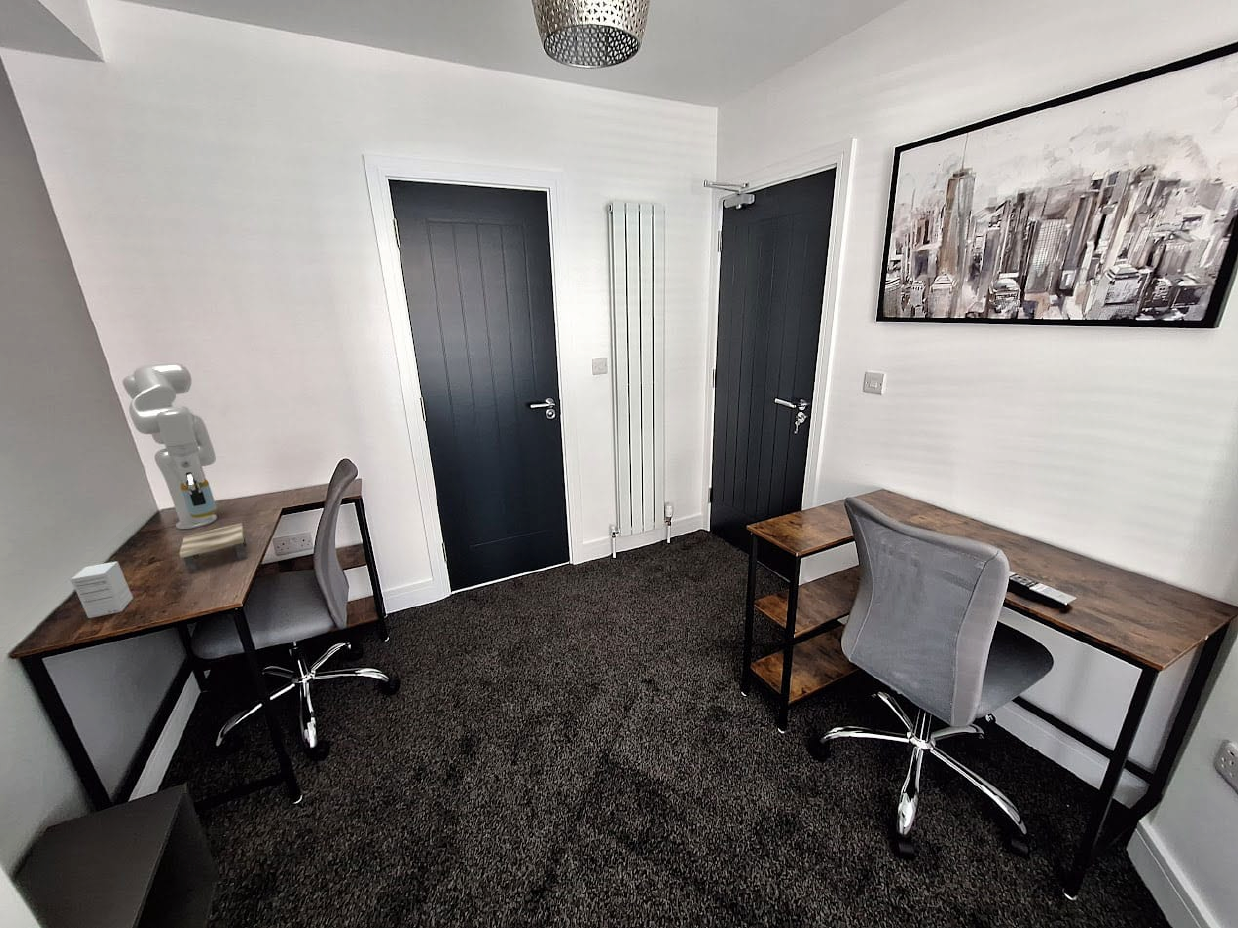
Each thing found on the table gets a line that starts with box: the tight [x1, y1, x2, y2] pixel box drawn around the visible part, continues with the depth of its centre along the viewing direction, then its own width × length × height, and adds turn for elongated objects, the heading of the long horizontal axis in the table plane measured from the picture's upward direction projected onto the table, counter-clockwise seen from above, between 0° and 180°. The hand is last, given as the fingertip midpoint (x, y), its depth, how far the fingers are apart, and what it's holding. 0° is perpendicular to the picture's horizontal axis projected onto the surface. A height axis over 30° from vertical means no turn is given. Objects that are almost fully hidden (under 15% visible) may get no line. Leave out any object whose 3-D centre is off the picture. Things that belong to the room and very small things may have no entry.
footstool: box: [179, 522, 247, 574], centre depth 164 cm, size 16×16×8 cm
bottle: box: [178, 468, 218, 518], centre depth 158 cm, size 7×7×15 cm
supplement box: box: [70, 561, 134, 619], centre depth 136 cm, size 7×7×13 cm
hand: (200, 501), depth 159 cm, fingers closed on bottle, 6 cm apart
